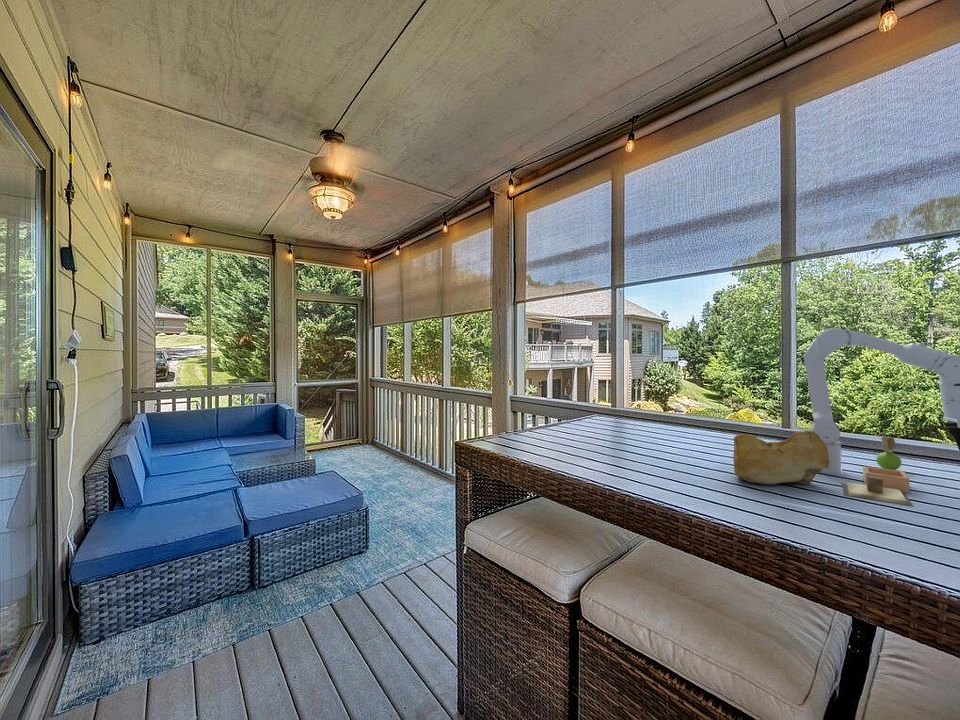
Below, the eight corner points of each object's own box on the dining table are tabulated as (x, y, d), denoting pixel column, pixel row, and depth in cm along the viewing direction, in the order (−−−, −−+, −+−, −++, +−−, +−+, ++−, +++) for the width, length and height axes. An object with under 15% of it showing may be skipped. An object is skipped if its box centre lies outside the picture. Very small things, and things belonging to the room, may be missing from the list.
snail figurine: (871, 469, 123) (871, 430, 123) (881, 466, 125) (881, 429, 125) (895, 473, 118) (895, 434, 118) (905, 470, 121) (905, 431, 120)
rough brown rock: (802, 475, 120) (798, 426, 121) (839, 489, 104) (834, 432, 105) (719, 474, 125) (715, 427, 126) (742, 487, 108) (738, 432, 110)
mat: (844, 497, 99) (844, 495, 99) (841, 484, 109) (841, 483, 109) (914, 508, 92) (914, 506, 92) (904, 494, 101) (904, 492, 101)
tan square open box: (866, 487, 106) (866, 472, 106) (862, 480, 112) (862, 466, 112) (909, 493, 101) (909, 478, 101) (903, 485, 107) (903, 471, 107)
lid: (849, 495, 100) (849, 478, 100) (846, 485, 107) (846, 469, 107) (907, 504, 93) (907, 486, 93) (899, 492, 101) (899, 476, 101)
